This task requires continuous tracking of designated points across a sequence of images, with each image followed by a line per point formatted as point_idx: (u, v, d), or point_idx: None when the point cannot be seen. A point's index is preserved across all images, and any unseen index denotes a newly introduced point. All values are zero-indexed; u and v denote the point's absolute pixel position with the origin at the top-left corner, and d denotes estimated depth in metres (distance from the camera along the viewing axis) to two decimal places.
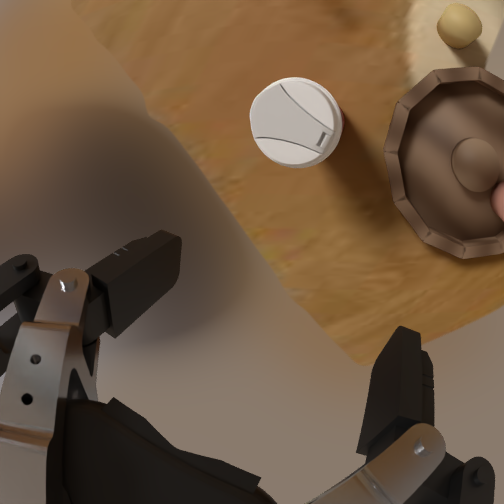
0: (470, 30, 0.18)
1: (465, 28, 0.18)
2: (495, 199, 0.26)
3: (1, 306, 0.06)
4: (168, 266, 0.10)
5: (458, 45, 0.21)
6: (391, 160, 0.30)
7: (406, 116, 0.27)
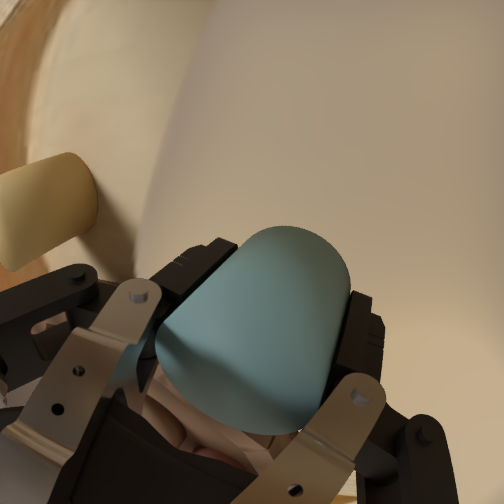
0: (5, 250, 0.10)
1: (1, 246, 0.10)
2: None
3: (45, 316, 0.06)
4: None
5: None
6: None
7: None
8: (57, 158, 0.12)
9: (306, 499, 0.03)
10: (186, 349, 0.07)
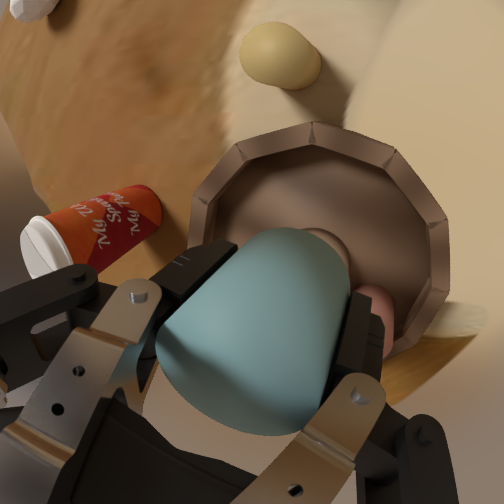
0: (282, 66, 0.16)
1: (273, 65, 0.16)
2: None
3: (45, 316, 0.06)
4: None
5: (288, 88, 0.20)
6: None
7: (204, 212, 0.25)
8: None
9: (306, 499, 0.03)
10: (187, 350, 0.07)
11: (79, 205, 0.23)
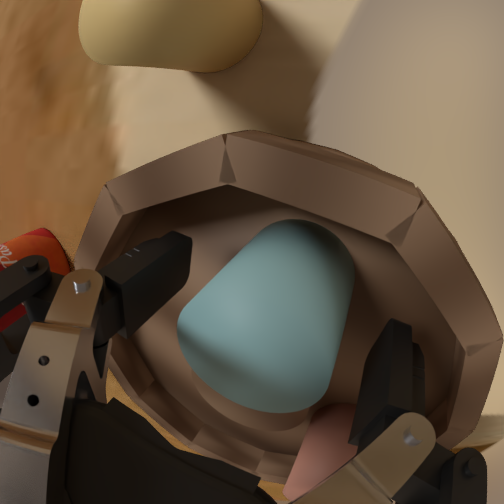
0: (140, 18, 0.06)
1: (125, 21, 0.06)
2: (301, 446, 0.14)
3: (9, 307, 0.06)
4: (179, 266, 0.10)
5: (192, 69, 0.09)
6: None
7: None
8: None
9: None
10: (208, 329, 0.08)
11: None
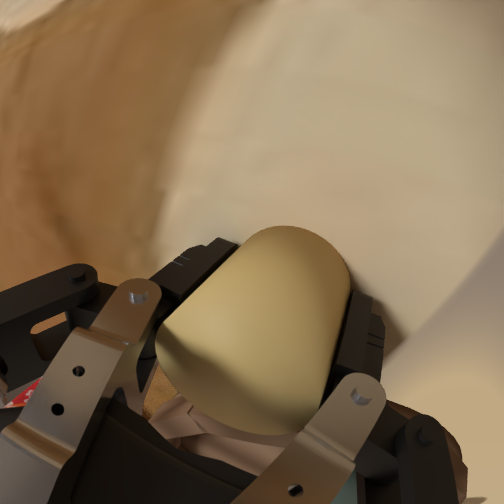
0: (256, 414, 0.07)
1: (235, 406, 0.07)
2: None
3: (45, 316, 0.06)
4: None
5: None
6: None
7: None
8: (303, 245, 0.09)
9: (306, 499, 0.03)
10: None
11: None
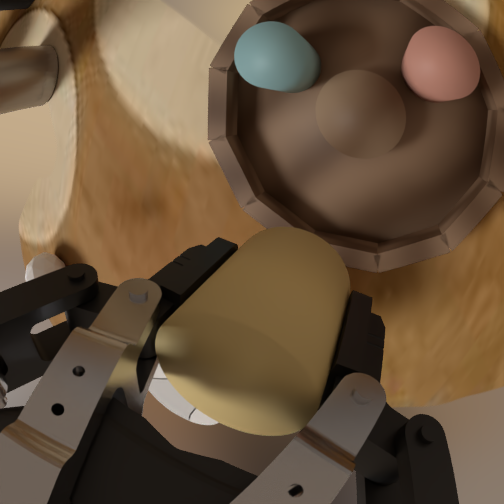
0: (255, 415, 0.07)
1: (235, 406, 0.07)
2: (424, 96, 0.15)
3: (45, 316, 0.06)
4: None
5: None
6: None
7: (263, 206, 0.23)
8: (303, 246, 0.09)
9: (306, 499, 0.03)
10: (250, 66, 0.16)
11: None
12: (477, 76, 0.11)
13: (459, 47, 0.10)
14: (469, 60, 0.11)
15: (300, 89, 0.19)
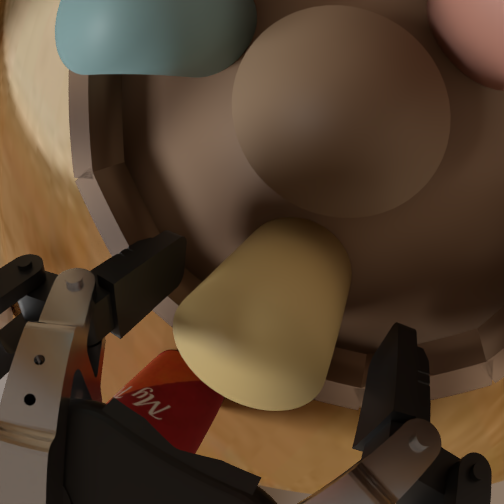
0: (266, 389, 0.08)
1: (247, 381, 0.08)
2: (490, 69, 0.05)
3: (5, 306, 0.06)
4: (173, 266, 0.10)
5: None
6: None
7: None
8: (308, 233, 0.10)
9: None
10: (73, 35, 0.05)
11: None
12: None
13: None
14: None
15: (208, 66, 0.09)
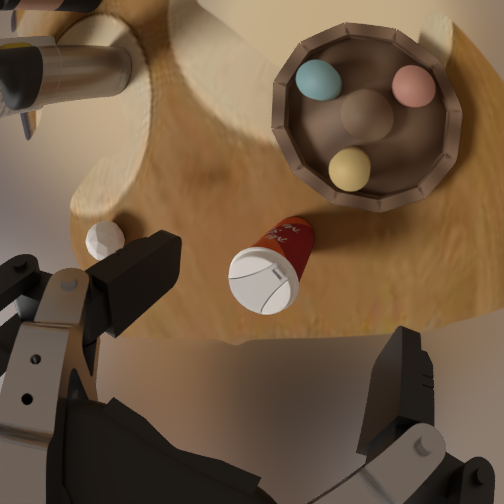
0: (355, 180, 0.30)
1: (349, 179, 0.30)
2: (404, 104, 0.27)
3: (1, 306, 0.06)
4: (168, 266, 0.10)
5: None
6: (341, 200, 0.35)
7: (307, 170, 0.35)
8: (358, 148, 0.32)
9: None
10: (306, 85, 0.28)
11: None
12: (433, 93, 0.23)
13: (423, 77, 0.23)
14: (429, 84, 0.23)
15: (330, 99, 0.31)
